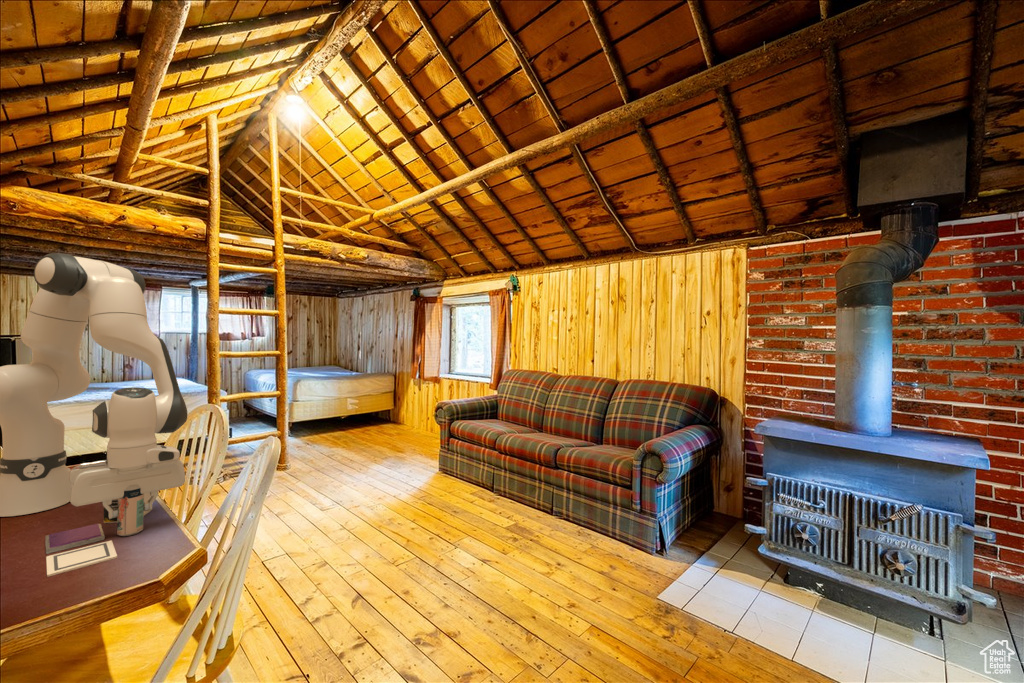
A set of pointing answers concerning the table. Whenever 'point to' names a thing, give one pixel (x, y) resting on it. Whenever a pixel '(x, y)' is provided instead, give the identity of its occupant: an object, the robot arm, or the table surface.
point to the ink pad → (74, 538)
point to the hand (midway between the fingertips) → (130, 513)
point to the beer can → (130, 511)
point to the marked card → (80, 558)
